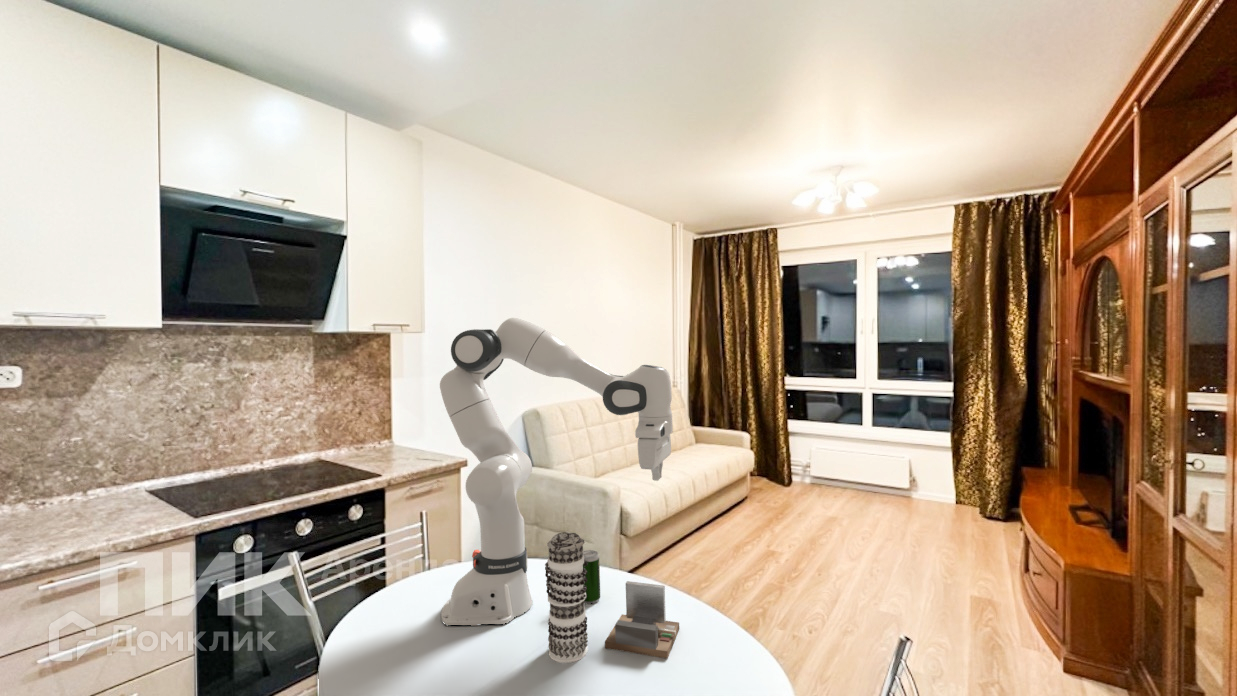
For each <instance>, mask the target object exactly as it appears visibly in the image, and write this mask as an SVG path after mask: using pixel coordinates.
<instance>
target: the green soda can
mask: <svg viewBox="0 0 1237 696" xmlns="http://www.w3.org/2000/svg"><path fill="white" fill-rule="evenodd" d="M583 554H584V559H585V560H586V561H587V565H586V566H585V567H584V564H583V568H584V569H586V570H587V574H586V575H585V577H587V582H585V583H584V585H585V586H586V587H587V591H585V592H586V598H585V600H584V603H587V604H586V605H592V604H591V603H594V604H596V603H598V602H599V601H600V599H601V576H600V575H601V574H600V573H601V572H600V564H601V563H600V555H599V552H598V551H596V550H593V549H589V550H588V549H587V550H583ZM583 580H584V579H583ZM597 601H598V602H597Z"/></svg>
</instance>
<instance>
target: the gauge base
mask: <svg viewBox="0 0 1237 696" xmlns="http://www.w3.org/2000/svg"><path fill="white" fill-rule="evenodd" d="M632 620H633V619H630V618H627V616H626V614H621V615H620V617H619V619H618V620H617V621H616V623H615V624H614V626H613V628H612V630H611V631H610V632H609V634H608V636H607V637H606V639H605V641H604V648H605V649H608V650H614V651H619V652H620V651H621V652H626V653H631V654H638V655H643V656H651V657H656V658H661V659H666V660H667V659H669V656H670V653H671V651H672V649H673V646H674V643H675V640H676V639H677V637H678V634H679V632H680V631H679V630H680V622H678V621H671V620H666V621H665V623H658V622H656V625H649V624H642V623H635V622H631V621H632ZM658 628H661V629H668V630H675V631H676V635H673V634H667V633H660V632H658Z"/></svg>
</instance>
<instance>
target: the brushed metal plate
mask: <svg viewBox="0 0 1237 696" xmlns="http://www.w3.org/2000/svg"><path fill="white" fill-rule="evenodd" d="M665 587H666V586H665V585H664V584H663V585H662V584H653V583H646V582H637V581H636V582H635V581H628V580H627V581H626V582H625V607H626V608H625V609H626V614H625V615H626V616H627V618H630V619H633V620H632V621H631V622H635V623H642V624H649V625H656V622H658V623H665V621H667V620H666V619H667V618H666V591H665V589H666V588H665ZM658 632H660V633H667V634H673V635H676V631H675V630H668V629H661V628H658Z"/></svg>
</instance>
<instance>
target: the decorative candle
mask: <svg viewBox="0 0 1237 696" xmlns="http://www.w3.org/2000/svg"><path fill="white" fill-rule="evenodd" d="M584 544H585V540H584V539H583V538H581V537H580V535H579V534H577V533H576V532H572V531H570V532H569V531H564V532H560V533H556V534H555V535H553V536H552V537H551V539H550V540H549V541H548V542H547V547H548V557H547V562H546V563H544V566H545V568H544V569H545V577H546V580H545V582H546V593H547V601H548V602H549V607H550V608H549V612H548V613H549V618H548V620H547V625H548V638H547V640H548V645H547V646H548V647H547V648H548V650H549V652H548V653H549V654H548V655H549V657H550V658H551V659H552V660H553V661H554V662H555V661H556V662H557V663H563V664H568V663H575V662H577V661H580V660H581V659H583V658H584V657H586V656H587V653H588V651H589V649H588V642H589V641H588V634H589V633H588V632H587V631H588V617H587V616H586V613H587V612H586V607H585V606H586V605H585V603H584V600H585V598H586V592H585V591H587V587H586V586H585V585H584V583H585V582H587V577H585V575H586V574H587V570H586V569H584V568H583V564H584V567H585V566H586V565H587V561H586V560H585V559H584V554H583V551H584V547H583V546H584ZM583 579H584V580H583Z"/></svg>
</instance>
